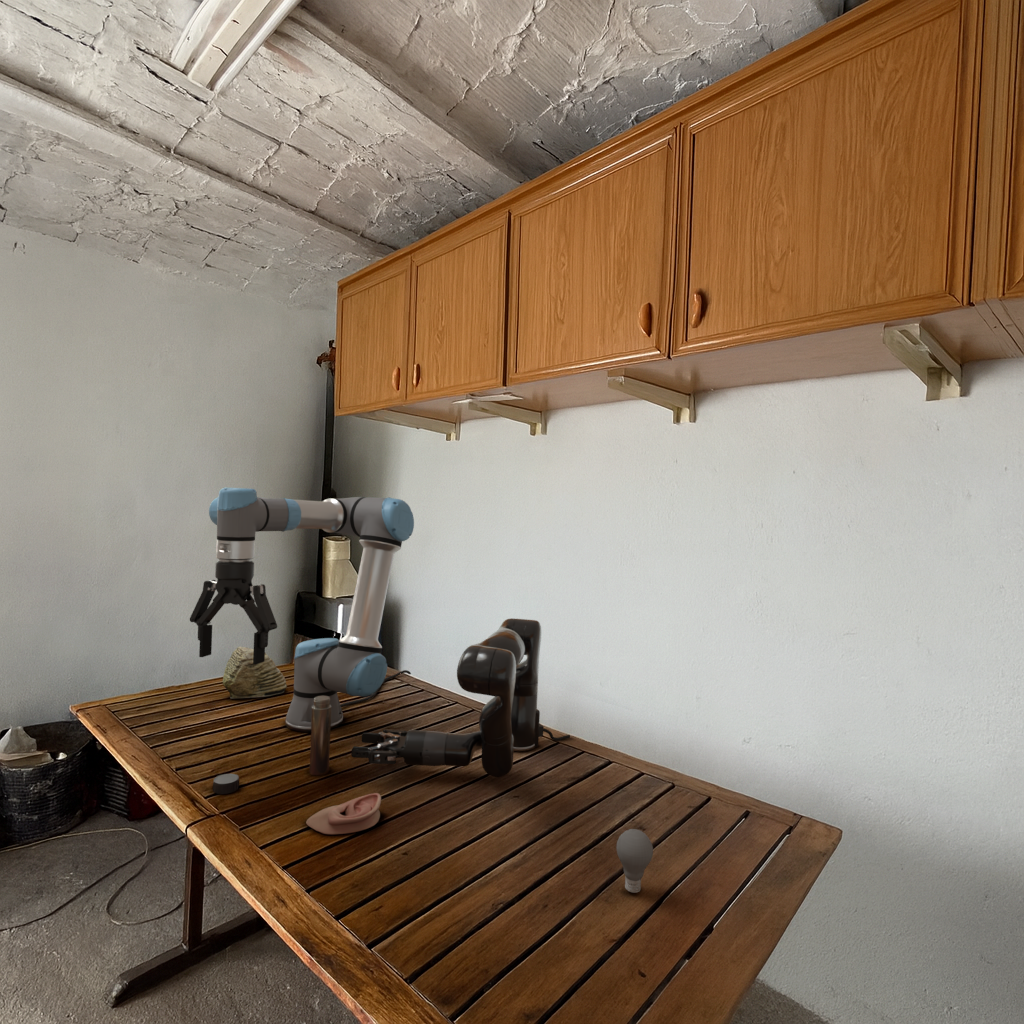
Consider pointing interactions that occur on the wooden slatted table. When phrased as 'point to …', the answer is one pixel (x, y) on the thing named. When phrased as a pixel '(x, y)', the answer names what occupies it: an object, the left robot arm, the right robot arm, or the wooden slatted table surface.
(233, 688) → the fossil
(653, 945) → the wooden slatted table surface
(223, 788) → the lid
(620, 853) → the light bulb
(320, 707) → the dark brown cylindrical piece
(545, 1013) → the wooden slatted table surface
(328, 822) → the anatomical model
